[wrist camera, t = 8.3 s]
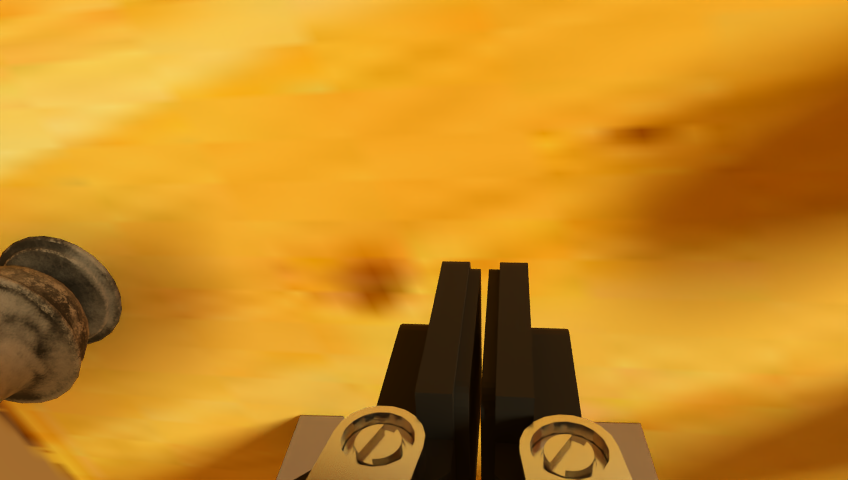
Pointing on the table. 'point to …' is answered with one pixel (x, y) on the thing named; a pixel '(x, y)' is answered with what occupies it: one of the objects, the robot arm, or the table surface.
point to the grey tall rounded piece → (50, 316)
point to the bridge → (319, 429)
